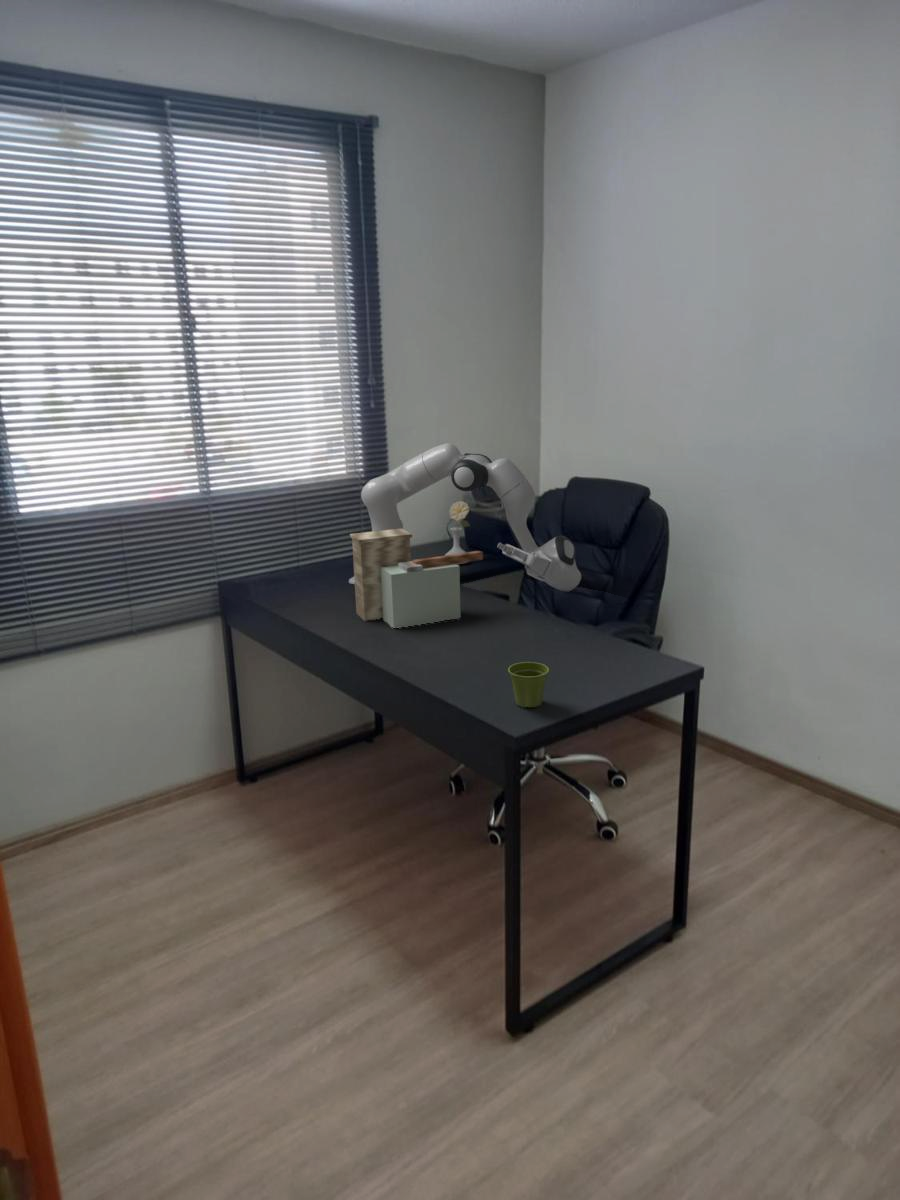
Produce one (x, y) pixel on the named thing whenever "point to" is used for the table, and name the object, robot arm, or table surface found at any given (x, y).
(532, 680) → the plant pot
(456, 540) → the flower in vase
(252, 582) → the table surface
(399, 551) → the tall stand
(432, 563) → the scraper
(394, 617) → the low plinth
